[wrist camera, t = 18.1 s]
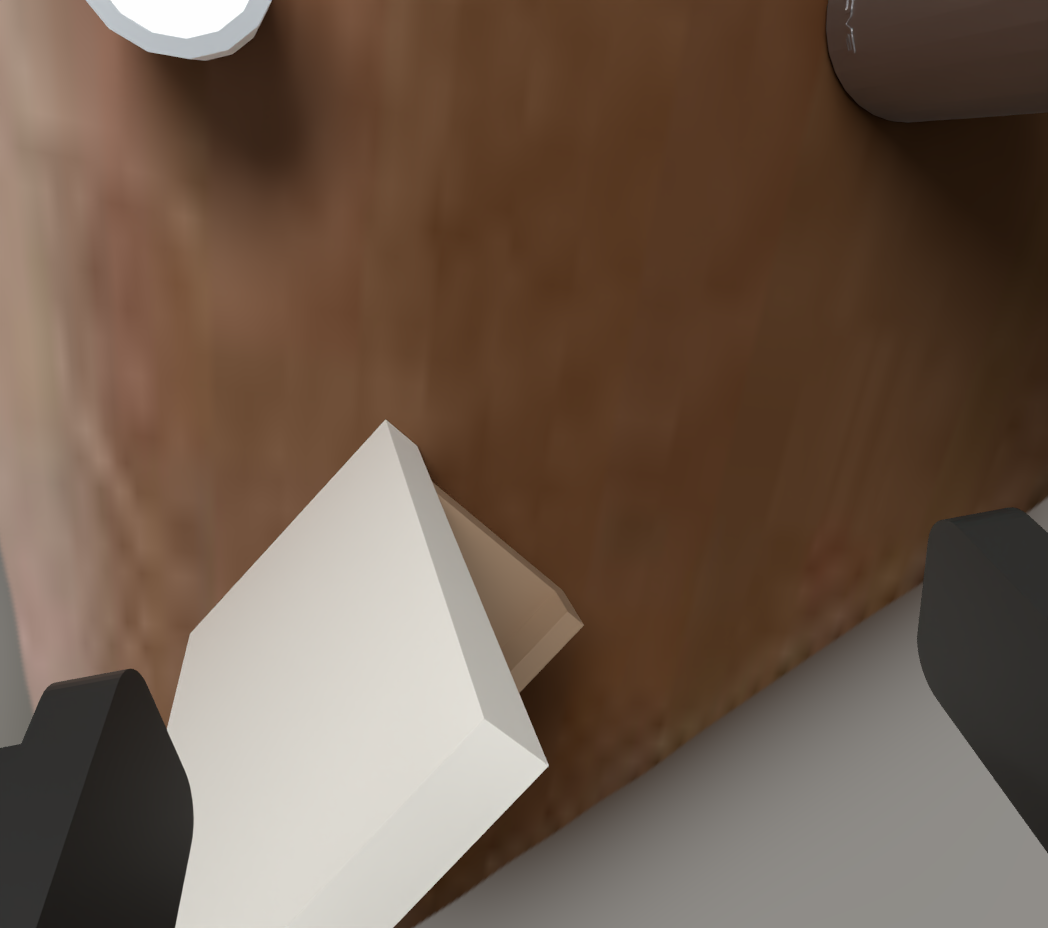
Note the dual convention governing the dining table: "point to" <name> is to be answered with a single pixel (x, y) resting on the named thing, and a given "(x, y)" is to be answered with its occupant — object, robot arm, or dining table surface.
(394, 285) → the dining table surface
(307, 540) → the white display stand
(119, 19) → the shot glass
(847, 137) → the dining table surface
